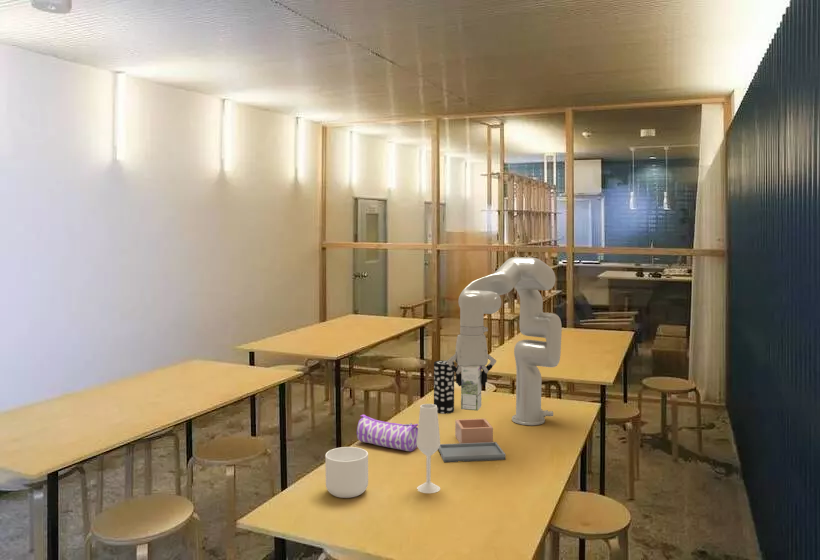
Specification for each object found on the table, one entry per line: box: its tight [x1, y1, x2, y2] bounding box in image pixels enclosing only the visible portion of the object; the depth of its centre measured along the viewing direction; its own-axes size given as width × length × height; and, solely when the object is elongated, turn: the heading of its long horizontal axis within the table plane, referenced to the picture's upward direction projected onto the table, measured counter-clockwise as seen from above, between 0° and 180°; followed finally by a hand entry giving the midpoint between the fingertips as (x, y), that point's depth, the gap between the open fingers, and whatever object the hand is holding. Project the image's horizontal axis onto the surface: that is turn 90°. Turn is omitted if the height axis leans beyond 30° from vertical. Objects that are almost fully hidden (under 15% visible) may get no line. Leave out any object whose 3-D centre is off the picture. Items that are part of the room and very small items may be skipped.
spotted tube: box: [433, 360, 455, 415], centre depth 262 cm, size 8×8×20 cm
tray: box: [437, 441, 507, 463], centre depth 211 cm, size 20×12×2 cm, turn 97°
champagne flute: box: [416, 403, 441, 494], centre depth 182 cm, size 7×7×24 cm
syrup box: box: [460, 366, 482, 411], centre depth 209 cm, size 6×6×14 cm
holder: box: [454, 418, 494, 444], centre depth 225 cm, size 11×11×6 cm
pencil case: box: [356, 414, 419, 452], centre depth 219 cm, size 22×9×10 cm, turn 64°
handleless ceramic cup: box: [324, 446, 369, 499], centre depth 180 cm, size 12×12×11 cm
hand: (471, 384), depth 209 cm, fingers closed on syrup box, 7 cm apart
